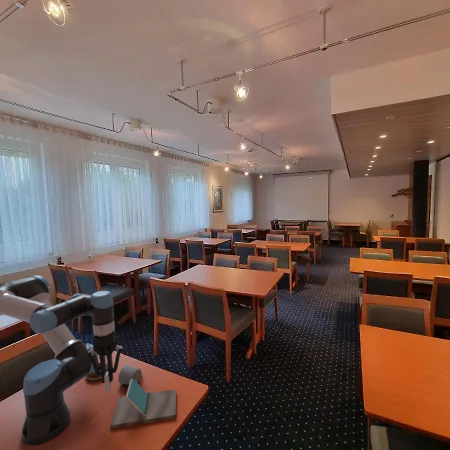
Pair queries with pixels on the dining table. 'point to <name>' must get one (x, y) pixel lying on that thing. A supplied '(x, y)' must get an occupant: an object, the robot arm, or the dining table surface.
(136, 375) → the ceramic mug
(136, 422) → the hinge board
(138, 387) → the tile
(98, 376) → the donut
